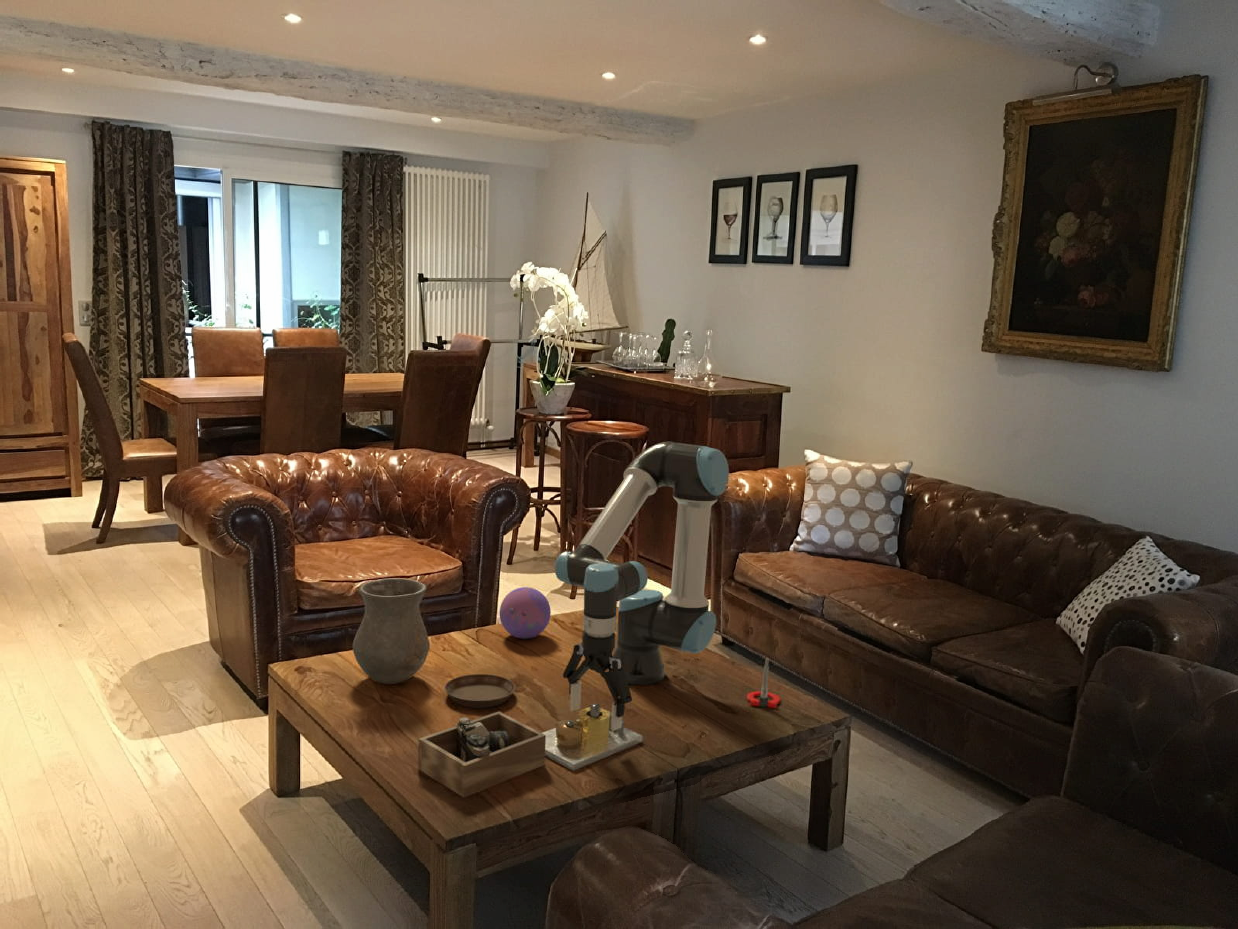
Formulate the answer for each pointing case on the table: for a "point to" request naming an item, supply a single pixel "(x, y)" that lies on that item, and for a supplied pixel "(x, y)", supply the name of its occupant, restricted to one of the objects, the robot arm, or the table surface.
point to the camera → (478, 740)
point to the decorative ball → (525, 612)
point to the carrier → (585, 742)
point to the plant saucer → (479, 690)
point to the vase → (391, 630)
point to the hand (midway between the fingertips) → (595, 719)
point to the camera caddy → (487, 770)
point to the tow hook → (764, 693)
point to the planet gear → (594, 725)
